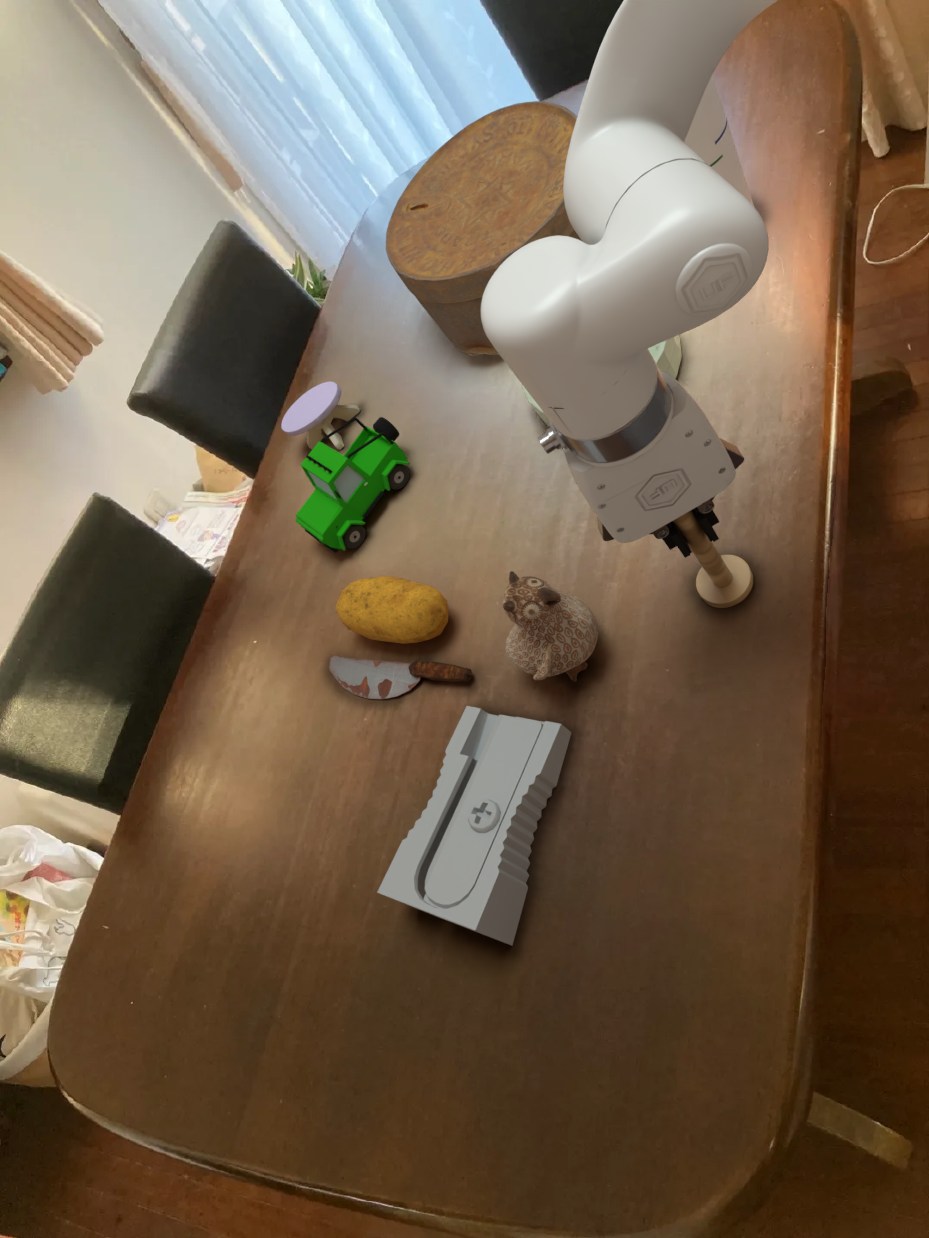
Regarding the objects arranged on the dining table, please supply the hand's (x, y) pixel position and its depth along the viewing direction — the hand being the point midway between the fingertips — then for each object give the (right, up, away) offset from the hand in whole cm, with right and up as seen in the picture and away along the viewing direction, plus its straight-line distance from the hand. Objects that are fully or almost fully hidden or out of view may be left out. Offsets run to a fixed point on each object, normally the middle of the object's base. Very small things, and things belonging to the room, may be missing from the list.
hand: (694, 535), depth 69 cm
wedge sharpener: (-16, -26, +10) cm, 33 cm away
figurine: (-9, -11, +13) cm, 19 cm away
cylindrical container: (+10, +37, +25) cm, 46 cm away
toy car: (-31, +9, +38) cm, 50 cm away
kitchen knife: (-27, -14, +24) cm, 39 cm away
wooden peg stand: (+5, -4, +7) cm, 10 cm away
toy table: (-38, +20, +48) cm, 64 cm away
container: (-10, +38, +39) cm, 56 cm away
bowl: (-3, +21, +25) cm, 32 cm away
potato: (-25, -7, +26) cm, 37 cm away
